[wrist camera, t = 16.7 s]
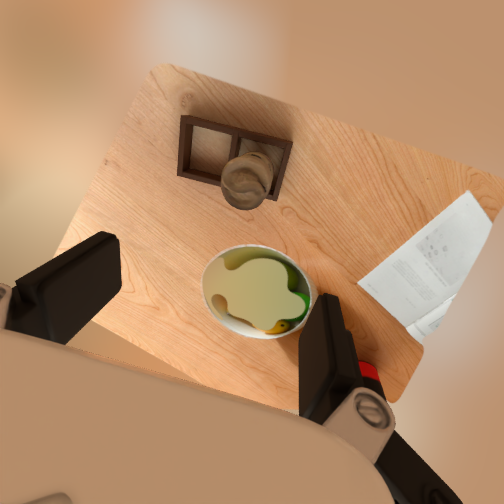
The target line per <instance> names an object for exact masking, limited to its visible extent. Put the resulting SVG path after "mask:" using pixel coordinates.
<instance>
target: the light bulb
mask: <svg viewBox="0 0 504 504" xmlns="http://www.w3.org/2000/svg"><path fill="white" fill-rule="evenodd" d="M273 175H274V168H273V164H272V162H271V160H270V159H269V157H268V156H266V155H265V154H263V153H261V152H257V151H253V152H248V153H246V154H244V155H242V156H239V157H236V158H234V159H232V160H230V161H229V162H228V163H227V164H226V165H225V166H224V168H223V170H222V175H221V189H222V193H223V195H224V197H225V199H226V201H227V202H228V203H229V204H230V205H232V206H233V207H235V208H237V209H240V210H252V209H254V208H256V207H258V206H259V205H260V204H261V203H262V202H263V200H264V199H265V198H266V196H267V195H268V193H269V191H270V187H271V182H272V180H273Z"/></svg>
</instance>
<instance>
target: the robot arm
mask: <svg viewBox="0 0 504 504" xmlns="http://www.w3.org/2000/svg"><path fill="white" fill-rule="evenodd" d="M15 282H16V286H15V287H13V288H11V287H10V286H8V285H5V284H3V283H0V504H463V503H462V501H461V500H460V499H459V498H458V496H457V495H456V494H455V493H454V492H453V490H452V489H450V487H449V486H448V485H447V484H446V483H445V482H444V481H443V480H442V479H441V478H440V477H439V476H438V475H437V474H436V473H435V472H434V471H433V470H432V469H431V468H430V466H429V465H428V464H427V463H426V462H424V460H423V459H422V458H421V457H420V456H419V455H418V454H417V453H416V452H415V451H414V450H413V449H412V448H411V447H410V446H409V445H408V444H407V443H406V442H405V440H404V439H402V437H401V436H400V435H399V434H398V433H397V432H396V431H395V430H394V428H395V424H396V423H395V417H394V414H393V412H392V409H391V408H390V406H389V405H388V403H387V402H386V401H385V400H384V399H383V398H382V397H381V396H380V395H378V394H377V393H376V392H374V391H372V390H370V389H368V388H365V386H364V382H363V378H362V374H361V370H360V366H359V362H358V358H357V354H356V350H355V346H354V342H353V338H352V334H351V332H350V331H349V330H346V329H345V325H344V320H343V316H342V312H341V307H340V303H339V298H338V297H337V296H335V295H331V294H327V293H324V294H323V296H322V295H319V296H318V298H317V300H316V302H315V304H314V306H313V309H312V311H311V313H310V315H309V317H308V319H307V322H306V324H305V326H304V328H303V330H302V333H301V335H300V338H299V416H298V415H295V414H292V413H290V412H287V411H283V410H281V409H278V408H274V407H271V406H268V405H265V404H262V403H259V402H256V401H252V400H249V399H246V398H243V397H239V396H236V395H233V394H229V393H226V392H223V391H219V390H216V389H213V388H209V387H206V386H203V385H199V384H196V383H193V382H189V381H186V380H183V379H179V378H176V377H172V376H169V375H166V374H162V373H159V372H155V371H152V370H149V369H145V368H141V367H138V366H135V365H131V364H128V363H125V362H121V361H118V360H114V359H111V358H107V357H104V356H101V355H97V354H93V353H90V352H87V351H83V350H80V349H76V348H73V347H69V346H66V343H68V341H69V340H71V338H73V337H74V336H75V334H77V333H78V332H79V331H80V330H81V329H82V328H83V327H84V326H85V325H86V324H87V323H88V322H89V321H90V320H91V319H92V318H93V317H94V316H95V315H96V314H97V313H98V312H99V311H100V310H101V309H102V308H103V307H104V306H105V305H106V304H107V303H108V302H109V301H110V300H111V299H112V298H113V297H114V296H115V295H116V294H117V293H118V292H119V291H120V289H121V286H122V281H121V262H120V244H119V239H117V237H116V235H114V234H111V233H107V232H104V231H100V232H98V233H96V234H95V235H93V236H91V237H89V238H88V239H86V240H84V241H83V242H81V243H79V244H77V245H76V246H74V247H72V248H71V249H69V250H67V251H66V252H64V253H62V254H60V255H59V256H57V257H55V258H54V259H52V260H50V261H48V262H47V263H45V264H44V265H42V266H40V267H38V268H37V269H35V270H33V271H31V272H30V273H28V274H26V275H24V276H23V277H21V278H19V279H18V280H16V281H15Z"/></svg>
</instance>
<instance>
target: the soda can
mask: <svg viewBox="0 0 504 504" xmlns="http://www.w3.org/2000/svg"><path fill="white" fill-rule="evenodd" d="M358 362H359V366H360V370H361V374H362V378H363V382H364V386H365V388H368V389H370V390H372V391H374V392H376V393H377V394H378V395H380V396H381V397H382V398H383V399H384V400H385V401H386V398H385V395H384V391H383V388H382V385H381V382H380V379H379V376H378V373H377V370H376V368H375V367H374V366H372V365H371V364H369V363H366V362H361V361H358ZM386 402H387V401H386Z"/></svg>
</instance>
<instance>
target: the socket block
mask: <svg viewBox="0 0 504 504" xmlns="http://www.w3.org/2000/svg"><path fill="white" fill-rule="evenodd" d="M193 125H195V126H199V127H203V128H207V129H211V130H215V131H219V132H223V133H227V134H230V135H233V136H232V142H231V148H230V154H229V161H230V160H232V159H234V158H236V157H238V155H239V149H240V144H241V138H246V139H250V140H254V141H258V142H262V143H266V144H270V145H273V146H277V147H281V148H285V151H284V155H283V159H282V163H281V167H280V170H279V174H278V178H277V182H276V185H275V189H274V190H272V189H270V191H269V193H268V195H267V196H266V198H265V199H269V200H273V201H277V199H278V195H279V191H280V188H281V184H282V181H283V177H284V173H285V170H286V166H287V163H288V159H289V155H290V152H291V148H292V145H293V142H292V141H287V140H284V139H280V138H276V137H272V136H268V135H264V134H260V133H256V132H252V131H248V130H244V129H240V128H237V127H233V126H229V125H225V124H221V123H217V122H213V121H209V120H205V119H201V118H197V117H193V116H189V115H181V121H180V137H179V152H178V167H177V176H181V177H185V178H189V179H193V180H196V181H200V182H204V183H208V184H212V185H216V186H219V187H221V176H218V175H214V174H210V173H206V172H202V171H199V170H195V169H191V168H189V167H190V155H191V144H192V133H193ZM229 161H228V162H229Z"/></svg>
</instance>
